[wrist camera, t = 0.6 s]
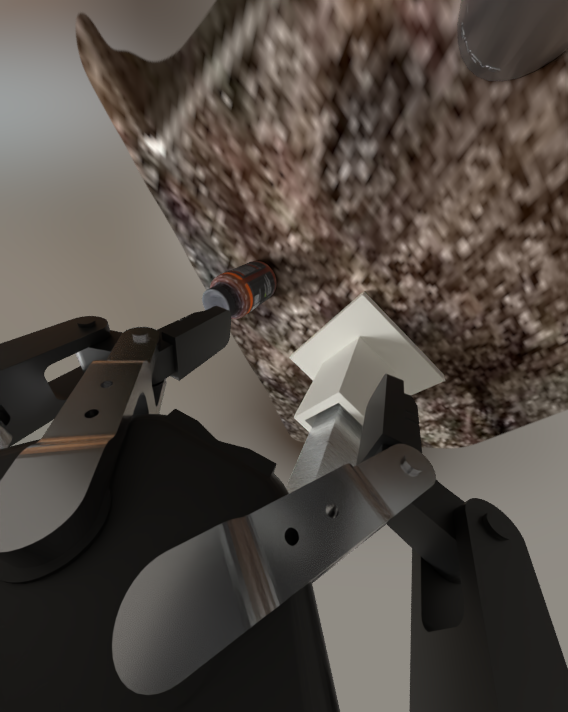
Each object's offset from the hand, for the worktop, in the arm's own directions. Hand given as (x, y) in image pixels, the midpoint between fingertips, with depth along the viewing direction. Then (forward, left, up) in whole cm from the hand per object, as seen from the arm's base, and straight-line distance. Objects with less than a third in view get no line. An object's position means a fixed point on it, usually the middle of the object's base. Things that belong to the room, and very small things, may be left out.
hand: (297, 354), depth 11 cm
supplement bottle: (+12, -9, -23) cm, 28 cm away
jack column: (+10, +11, -21) cm, 26 cm away
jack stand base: (+10, +11, -23) cm, 27 cm away
